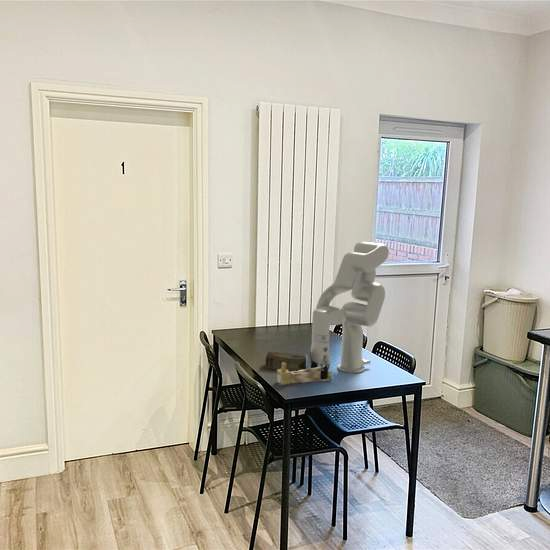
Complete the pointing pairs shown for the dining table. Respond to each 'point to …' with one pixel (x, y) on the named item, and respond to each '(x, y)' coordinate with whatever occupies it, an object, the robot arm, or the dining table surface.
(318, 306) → the robot arm
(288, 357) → the beverage carton
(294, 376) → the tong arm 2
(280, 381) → the block
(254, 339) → the dining table surface
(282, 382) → the lock collar
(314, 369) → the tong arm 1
